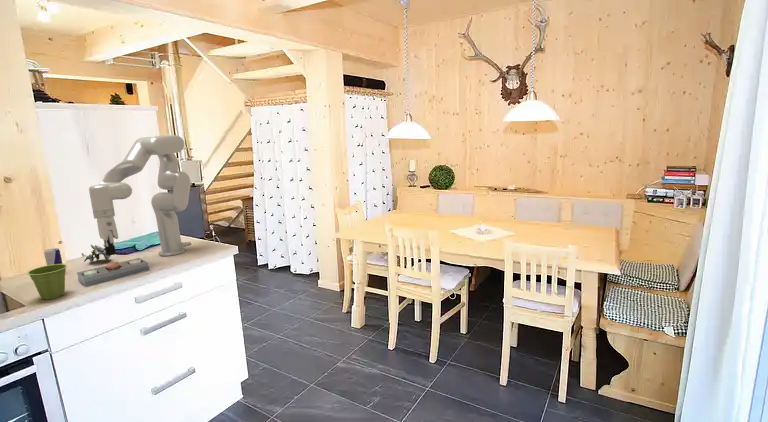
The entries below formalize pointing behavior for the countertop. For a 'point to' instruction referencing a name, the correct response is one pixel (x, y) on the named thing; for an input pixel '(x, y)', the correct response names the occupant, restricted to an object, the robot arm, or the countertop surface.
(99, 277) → the console
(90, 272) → the sage button
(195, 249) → the countertop surface
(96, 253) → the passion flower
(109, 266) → the terracotta button
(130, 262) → the ivory button
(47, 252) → the energy drink
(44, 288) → the plant pot
